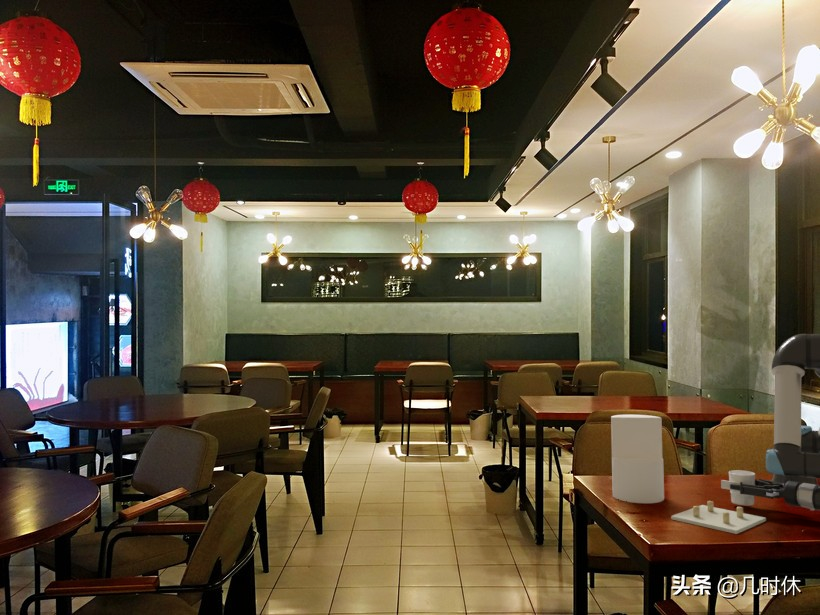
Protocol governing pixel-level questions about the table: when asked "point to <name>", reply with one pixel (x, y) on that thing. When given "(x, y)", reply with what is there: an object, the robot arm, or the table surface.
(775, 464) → the robot arm
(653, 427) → the cylinder
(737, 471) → the white cup
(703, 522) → the standoff plate
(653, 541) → the table surface
